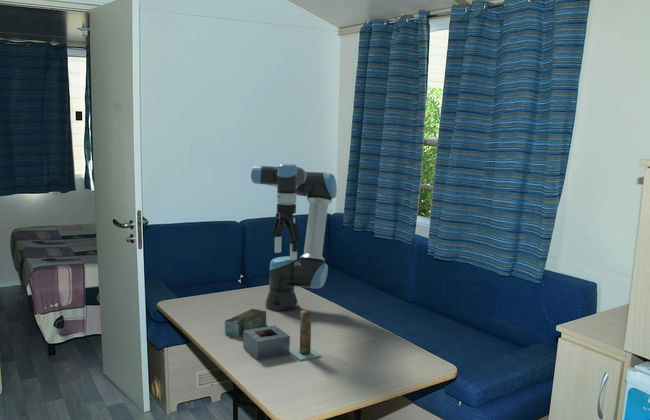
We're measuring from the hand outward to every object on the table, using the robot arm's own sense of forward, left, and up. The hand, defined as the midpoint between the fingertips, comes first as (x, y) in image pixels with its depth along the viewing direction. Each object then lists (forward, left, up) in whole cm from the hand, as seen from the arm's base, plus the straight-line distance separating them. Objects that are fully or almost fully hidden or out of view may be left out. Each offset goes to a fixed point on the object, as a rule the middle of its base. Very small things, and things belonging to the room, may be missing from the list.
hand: (285, 256), depth 239 cm
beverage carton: (+11, -12, -33) cm, 37 cm away
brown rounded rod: (+2, +23, -32) cm, 39 cm away
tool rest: (+2, +23, -33) cm, 40 cm away
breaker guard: (+14, +13, -33) cm, 38 cm away
